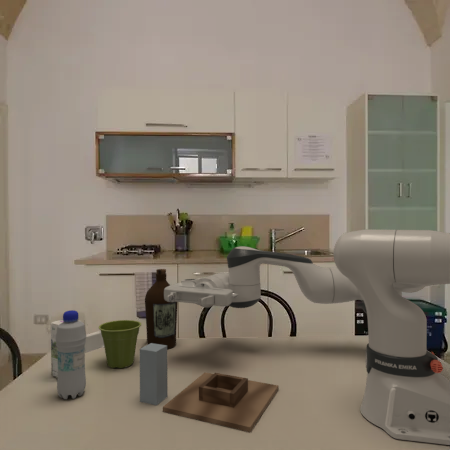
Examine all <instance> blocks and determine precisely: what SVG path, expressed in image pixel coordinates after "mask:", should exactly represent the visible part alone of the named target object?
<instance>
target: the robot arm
mask: <svg viewBox="0 0 450 450" xmlns="http://www.w3.org/2000/svg"><path fill="white" fill-rule="evenodd" d="M332 253H333V254H332V255H333V261H334V264H335V267H323V266H319V265H316V264H315V263H314V262H313V261H312V259H311V258H309V257H306V256H301V255H295V254H290V253H283V252H278V251H276V252H275V251H268V250H261V249H257V248H253V247H250V246H244V245H243V246H242V245H240V246H236V247H232V249H231V250H230V251H229V253H228V254H227V257H226V262H227V268H228V272H218V273H214V274H212V275H208V276H205V277H203V276H202V277H198V278H187V279H181V280H180V282H177V283H176V282H175V283H173V284H170V286H168V287H166V288H165V289H164V299H165V300H166V301H167V302H178V303H185V304H193V305H194V304H195V305H198V306H200V307H202V308H211V307H214V306H217V307H228V306H229V307H230V308H235V309H245V308H251V307H252V306H255V305H256V304H257V303H258V302H259V301H260V300H261V297H262V296H261V293H262V292H261V288H262V287H261V271H260V267H261V265H262V264H263V265H264V264H267V265H273V266H277V267H278V266H280V267H285V268H288V269H289V270H290V271H291V272H292V274H293V275H294V278H295V280H296V282H297V285H298V288H299V289H300V291H301V292H302V294H303V296H304V297H305V298H306V299H307V300H309V301H310V302H312V303H314V304H320V305H321V304H324V305H327V304H341V303H349V302H353V301H357V300H358V301H360V302H361V303H356V306H357V307H359V308H361V309H362V310H363V312H364V313H365V314H366V316H367V329H368V331H367V332H368V333H367V334H368V337H367V338H368V343H367V345H366V349H365V368H366V369H365V370H366V372H367V373H366V382H365V387H364V388H365V389H364V395H363V398H362V401H361V405H360V407H359V409H360V412H361V415H362V416H363V417H364V418H365V419H366V420H368V421H369V422H370V423H371V424H373V425H374V426H377V427H379V428H380V429H383V431H384V432H386V433H387V435H389V436H390V437H392V438H394V439H396V440H403V441H412V442H420V443H427V444H437V445H438V444H439V445H447V446H450V380H449V379H448V378H447V377H446V376H444V375H443V374H442V372H443V370H444V368H443V367H444V366H443V364H442V362H441V361H440V360H438V359H439V358H438V357H437V355H435V353H434V352H433V351H429V350H428V349H427V344H428V343H427V342H428V341H427V336H428V334H427V323H428V322H427V321H428V320H427V317H426V314H425V312H424V311H423V309H422V308H421V307H420V306H418V304H416V303H414V302H413V301H411V300H409V299H407V298H405V297H403V293H406V294H409V293H410V294H411V293H418V292H419V291H422V290H423V289H424V288H426V287H429V286H430V287H431V286H440V285H450V232H446V231H445V232H444V231H440V230H439V231H438V230H432V229H375V228H374V229H373V228H372V229H365V228H364V229H359V230H352V231H348V232H344V233H341V235H340V236H339V237H338V239H337V240H336V242H335V243H334V248H333V252H332Z"/></svg>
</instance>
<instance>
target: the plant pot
mask: <svg viewBox="0 0 450 450" xmlns="http://www.w3.org/2000/svg"><path fill="white" fill-rule="evenodd" d="M141 327H142V322H140V321H138V320H132V319H131V320H130V319H118V320H111V321H107V322H104V323H101V324H100V325H99V326H98V330H99V331H101V335H102V337H103V342H104V347H105V348H104V353H105V359H106V364H107V367H108V368H111V369H115V368H118V369H124V368H126V367H127V368H128V367H130V366H132V365H133V363H134V362H135V355H136V349H137V348H136V347H137V341H138V336H139V333H140V332H139V331H140V328H141Z"/></svg>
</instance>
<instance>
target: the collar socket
mask: <svg viewBox="0 0 450 450" xmlns="http://www.w3.org/2000/svg"><path fill="white" fill-rule="evenodd" d="M277 392H279V385H277V384H272V383H268V382H267V383H266V382H261V381H255V380H249V378H246V377H242V376H236V375H231V374H230V375H229V374H227V373H226V374H225V373H220V372H214V373H209V372H207V371H205V372H203V373H202V374H201V375H200V376H198V377H197V378H196V379H195V380H194V381H192V382H191V383H190V384H189V385H187V386H186V387H185V388H184V389H183V390H181V391H180V392H178V394H176V395H175V396H174V397H173V398H172V399H170V400H169V401H167V402H166V403H165V404H164V405H163V406H162V412H164V413H168V414H172V415H175V416H179V417H184V418H188V419H189V418H190V419H194V420H198V421H201V422H205V423H209V424H212V425H218V426H222V427H225V428H226V427H227V428H230V429H234V430H239V431H243V432H246V433H247V432H248V433H251V432H252V431H253V429H254V427H255V426H256V425H257V423H258V421H259V420H260V418H261V417H262V415H263V414H264V412H265V411H266V409H267V408H268V406H269V405H270V403H271V402H272V401H273V399H274V397H275V396H276V394H278V393H277Z"/></svg>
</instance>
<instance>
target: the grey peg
mask: <svg viewBox="0 0 450 450" xmlns="http://www.w3.org/2000/svg"><path fill="white" fill-rule="evenodd" d="M168 388H169V387H168V349H167V345H160V344H154V343H150V344H148V345H147V344H146V345H144V346H142V347H141V348H139V402H140V403H145V404H148V405H149V404H150V405H153V406H158V405H159V404H160V403H162V402H163V401H164V400H165V399H167V398H168V391H169V389H168Z"/></svg>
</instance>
